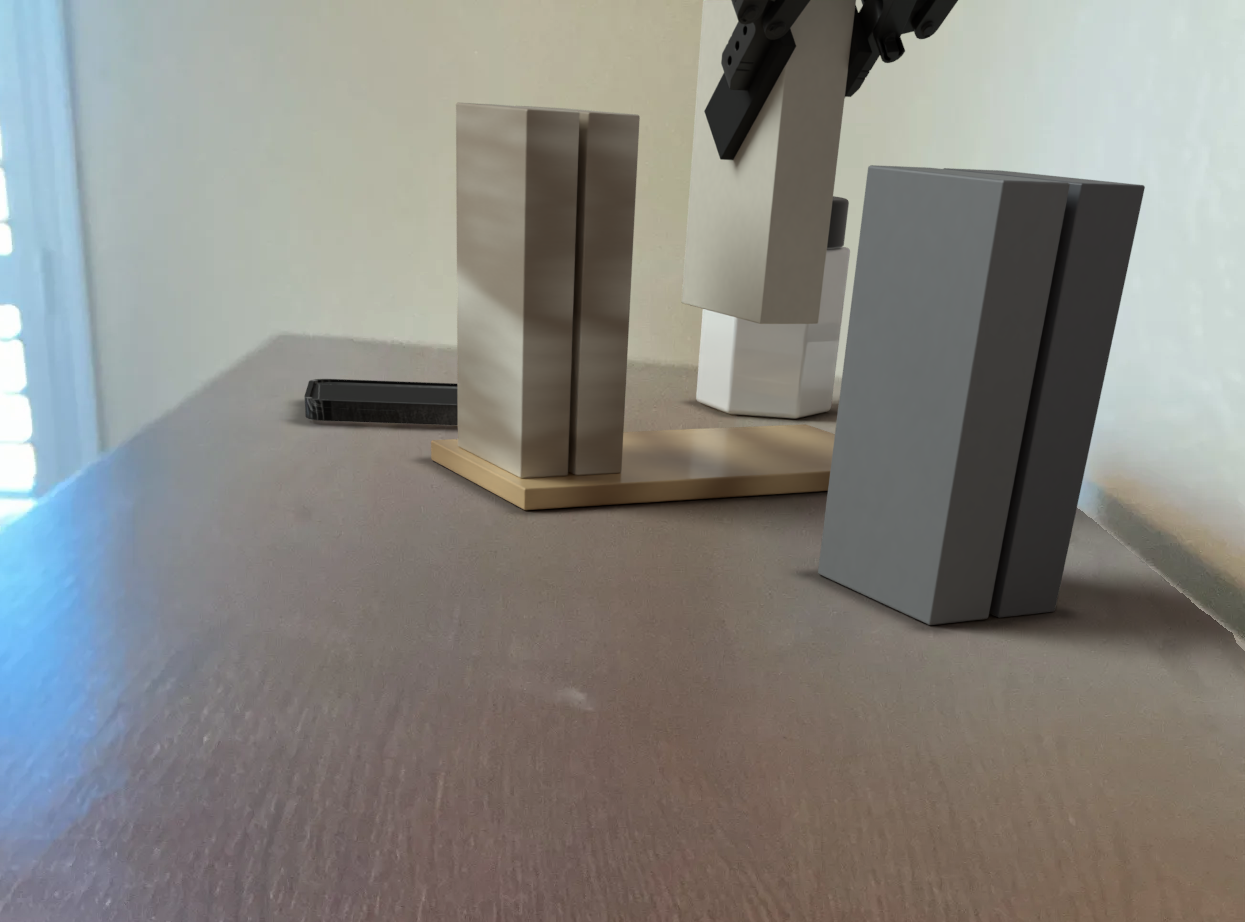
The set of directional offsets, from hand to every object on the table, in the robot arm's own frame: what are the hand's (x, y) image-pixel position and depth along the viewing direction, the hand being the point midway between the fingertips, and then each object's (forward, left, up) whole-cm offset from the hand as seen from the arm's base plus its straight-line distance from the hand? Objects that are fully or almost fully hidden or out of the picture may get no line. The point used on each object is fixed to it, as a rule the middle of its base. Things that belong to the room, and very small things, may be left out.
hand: (755, 137), depth 76 cm
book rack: (+3, +1, -15) cm, 16 cm away
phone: (+10, -17, -15) cm, 25 cm away
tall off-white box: (0, +1, -8) cm, 8 cm away
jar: (-13, -16, -15) cm, 26 cm away
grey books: (+5, +25, -15) cm, 30 cm away
